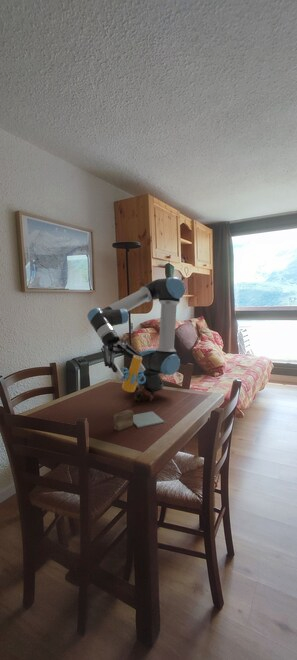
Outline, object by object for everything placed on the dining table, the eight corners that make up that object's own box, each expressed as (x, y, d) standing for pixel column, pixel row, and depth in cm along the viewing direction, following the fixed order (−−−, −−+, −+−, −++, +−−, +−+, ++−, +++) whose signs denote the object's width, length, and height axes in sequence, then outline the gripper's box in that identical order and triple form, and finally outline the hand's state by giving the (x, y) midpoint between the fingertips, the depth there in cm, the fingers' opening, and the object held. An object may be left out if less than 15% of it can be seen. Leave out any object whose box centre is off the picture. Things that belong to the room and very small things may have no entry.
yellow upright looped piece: (124, 396, 121) (134, 362, 117) (110, 384, 128) (119, 352, 125) (146, 394, 129) (156, 362, 126) (132, 382, 136) (141, 352, 133)
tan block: (114, 429, 122) (113, 415, 122) (128, 423, 128) (128, 409, 127) (119, 431, 120) (118, 416, 120) (133, 424, 126) (132, 410, 125)
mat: (152, 412, 139) (152, 411, 139) (164, 422, 127) (164, 421, 127) (127, 417, 134) (127, 415, 134) (137, 428, 122) (137, 426, 122)
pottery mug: (138, 397, 165) (145, 384, 164) (151, 407, 160) (158, 394, 159) (126, 397, 154) (134, 384, 153) (139, 408, 149) (147, 394, 149)
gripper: (125, 338, 147) (148, 373, 137) (83, 345, 129) (106, 385, 120) (131, 328, 142) (156, 363, 133) (89, 333, 125) (114, 375, 116)
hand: (132, 374), depth 127 cm, fingers closed on yellow upright looped piece, 12 cm apart
